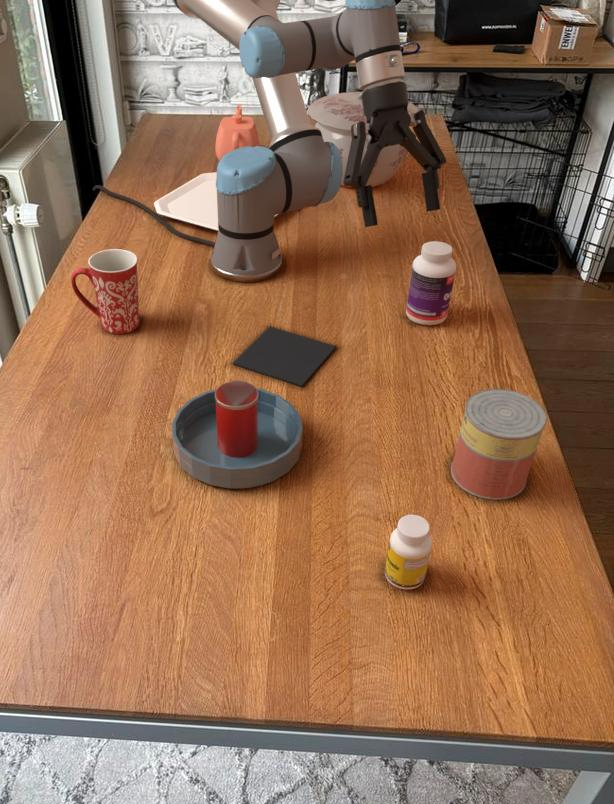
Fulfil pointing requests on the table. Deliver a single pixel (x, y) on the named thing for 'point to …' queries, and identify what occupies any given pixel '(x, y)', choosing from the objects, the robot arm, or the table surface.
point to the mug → (113, 289)
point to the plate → (193, 202)
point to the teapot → (235, 134)
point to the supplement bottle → (408, 552)
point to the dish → (211, 466)
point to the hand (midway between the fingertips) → (403, 218)
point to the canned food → (497, 443)
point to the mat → (285, 356)
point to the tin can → (237, 418)
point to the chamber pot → (336, 128)
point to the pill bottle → (431, 284)
